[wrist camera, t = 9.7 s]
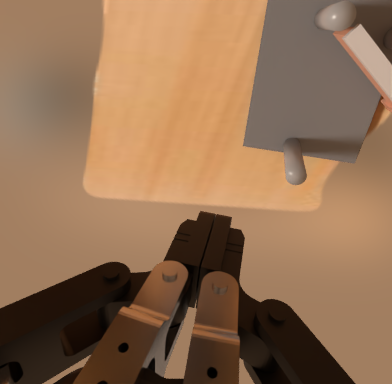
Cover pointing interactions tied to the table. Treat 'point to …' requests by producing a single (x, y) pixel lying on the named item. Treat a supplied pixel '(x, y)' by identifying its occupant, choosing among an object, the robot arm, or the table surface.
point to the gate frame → (314, 81)
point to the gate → (368, 60)
